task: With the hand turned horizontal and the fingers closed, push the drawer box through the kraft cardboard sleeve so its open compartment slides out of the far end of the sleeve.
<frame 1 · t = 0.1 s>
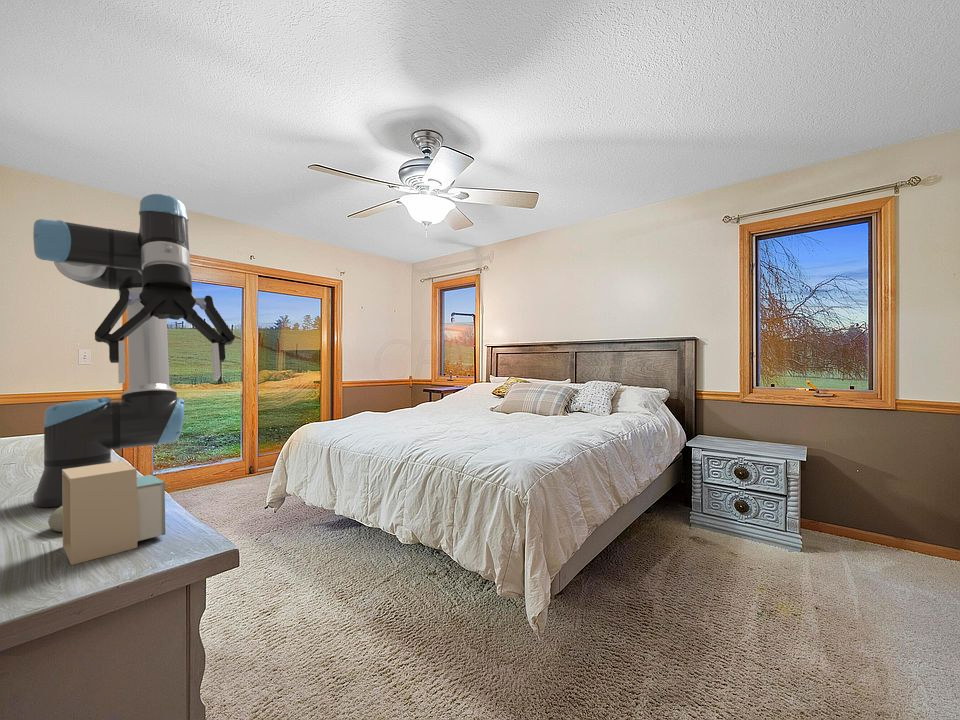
hand: (172, 379, 76), 28 cm above the table, tool tilted 20°, fingers open, 13 cm apart
sea urchin shell: (82, 527, 83), on the table
drawer box: (122, 510, 74), point 5 cm above the table, slide at 0.0 cm
sleeve: (99, 547, 72), on the table
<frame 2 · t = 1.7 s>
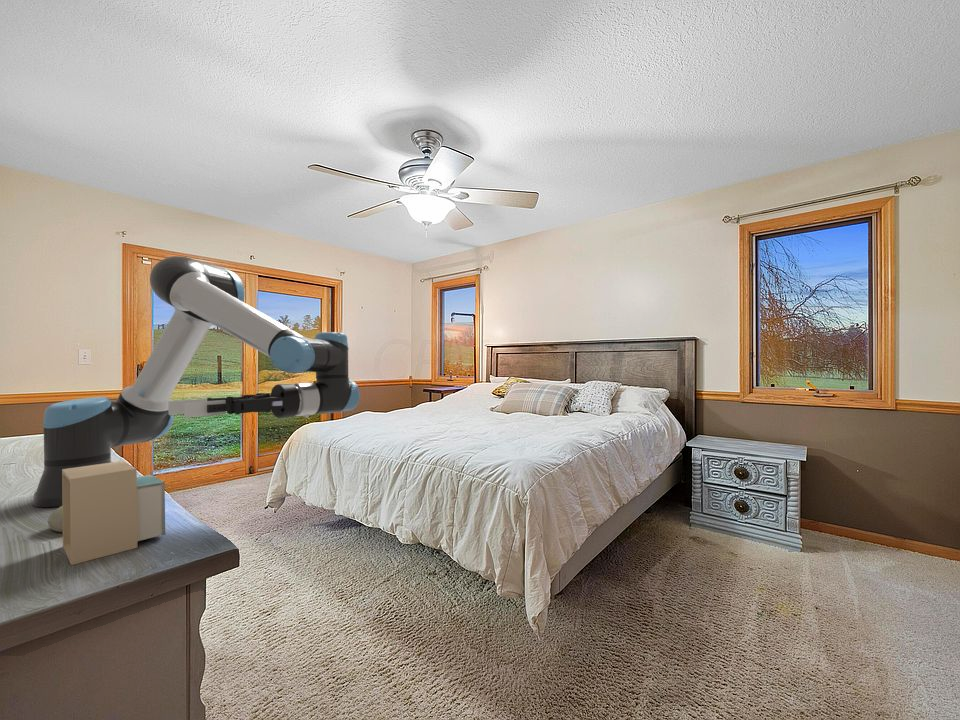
hand: (176, 409, 81), 22 cm above the table, tool horizontal, fingers open, 10 cm apart
nothing on the table moved.
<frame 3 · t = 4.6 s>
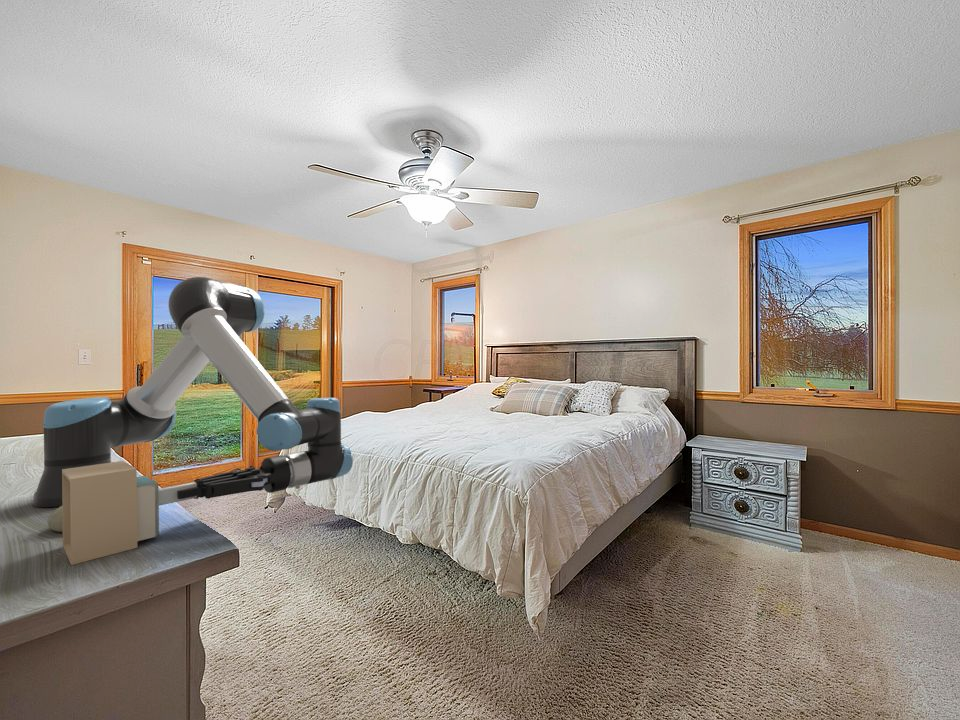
hand: (154, 498, 78), 6 cm above the table, tool horizontal, fingers closed
drawer box: (115, 511, 74), point 5 cm above the table, slide at 0.9 cm, touching gripper
everything else where it was.
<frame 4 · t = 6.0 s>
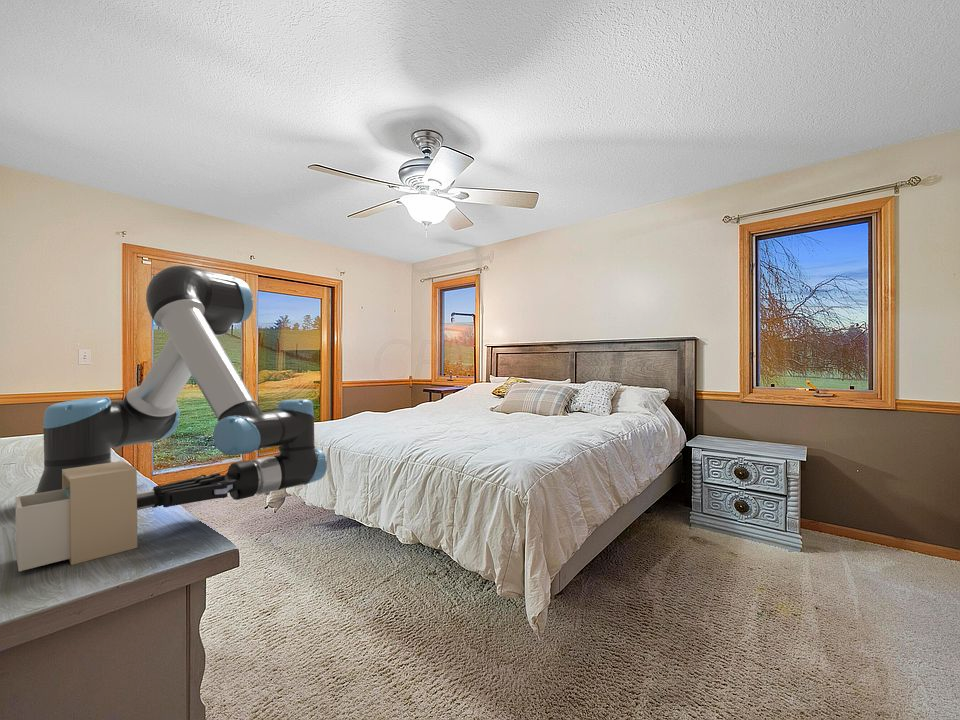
hand: (106, 507, 73), 6 cm above the table, tool horizontal, fingers closed
drawer box: (62, 522, 69), point 5 cm above the table, slide at 7.4 cm, touching gripper
everything else where it was.
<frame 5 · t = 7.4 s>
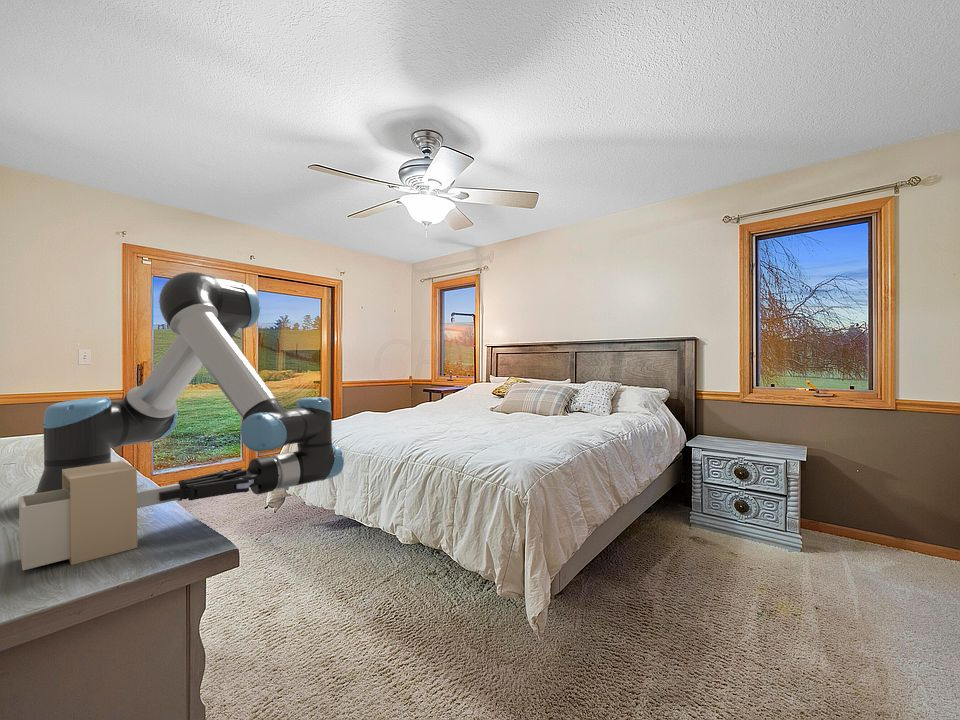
hand: (134, 500, 76), 7 cm above the table, tool horizontal, fingers closed
drawer box: (66, 522, 69), point 5 cm above the table, slide at 7.0 cm
everything else where it was.
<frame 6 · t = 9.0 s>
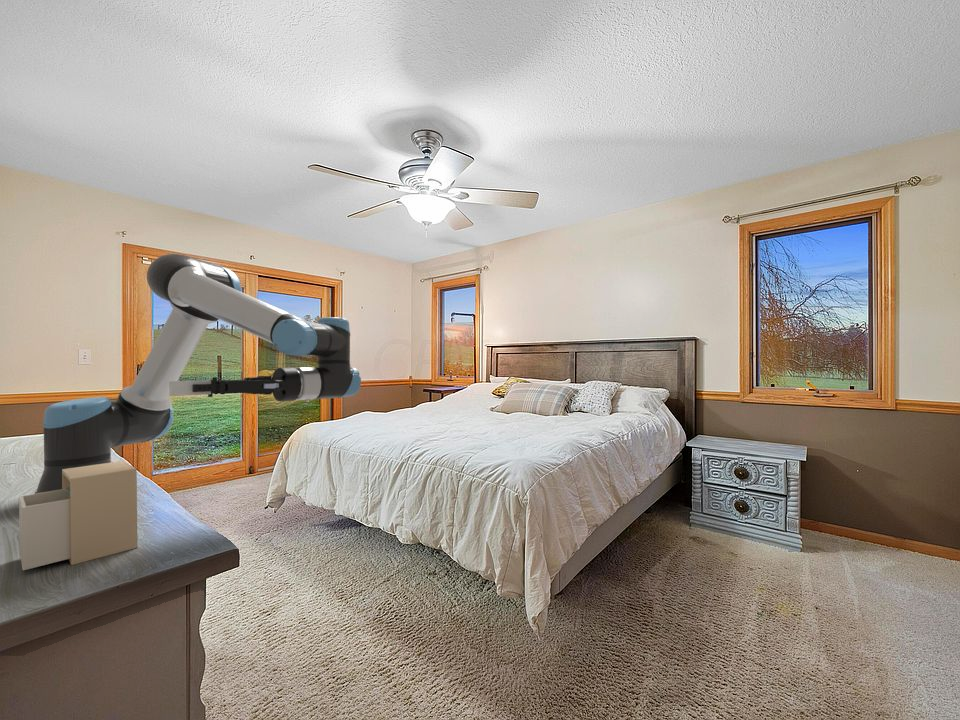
hand: (170, 388, 80), 26 cm above the table, tool horizontal, fingers closed
nothing on the table moved.
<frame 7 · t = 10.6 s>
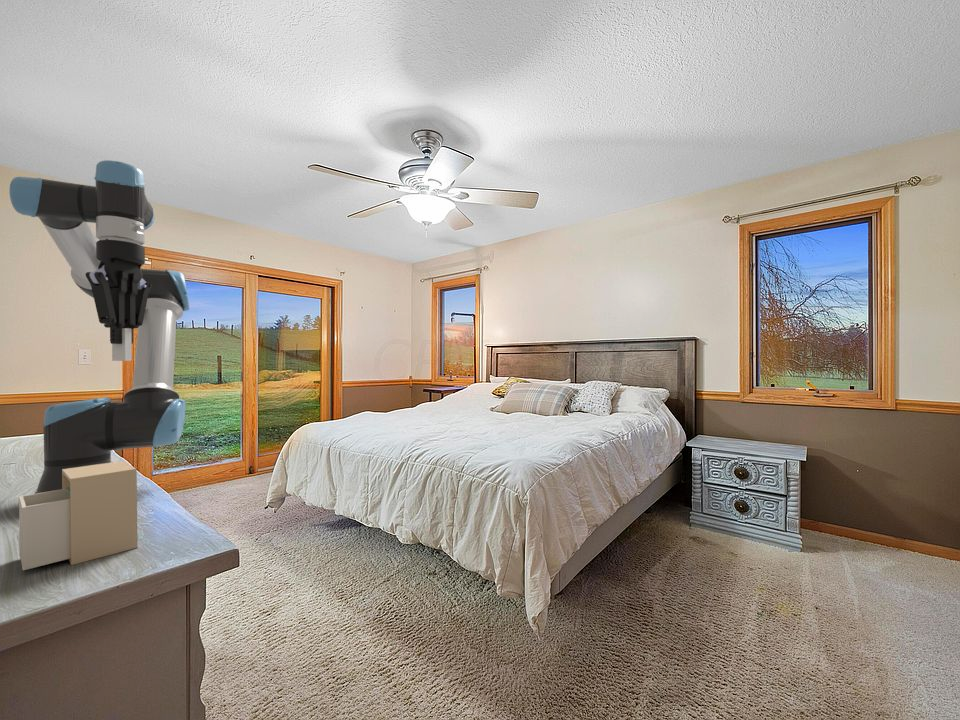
hand: (122, 360, 87), 32 cm above the table, tool pointing down, fingers closed
nothing on the table moved.
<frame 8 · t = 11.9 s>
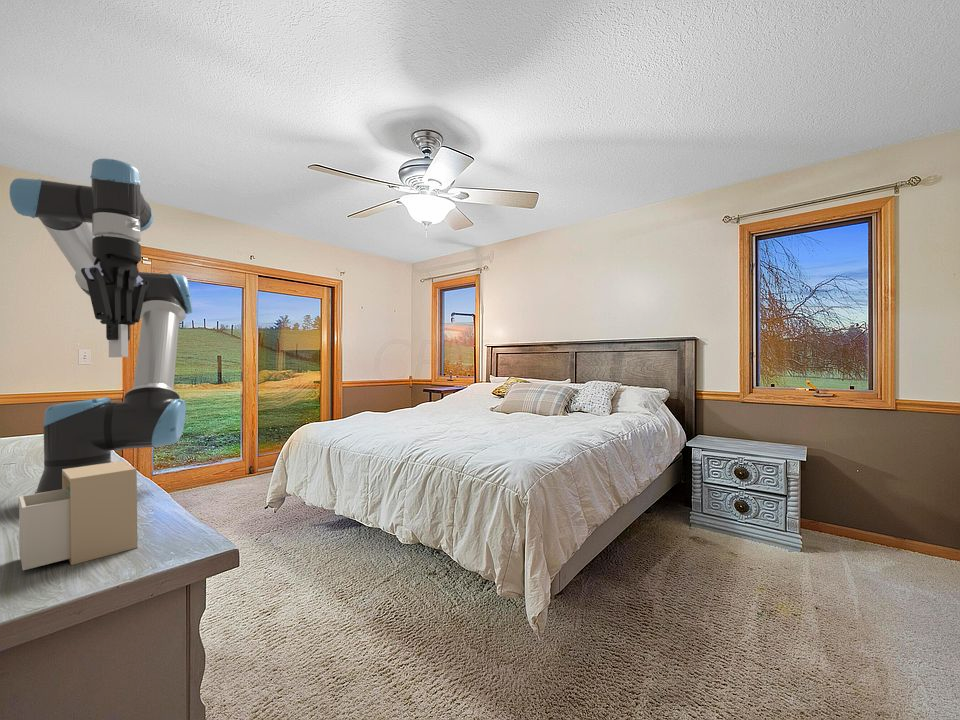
hand: (118, 357, 86), 32 cm above the table, tool pointing down, fingers closed
nothing on the table moved.
at the end: drawer box slide at 7.0 cm; the gripper is holding nothing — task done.
